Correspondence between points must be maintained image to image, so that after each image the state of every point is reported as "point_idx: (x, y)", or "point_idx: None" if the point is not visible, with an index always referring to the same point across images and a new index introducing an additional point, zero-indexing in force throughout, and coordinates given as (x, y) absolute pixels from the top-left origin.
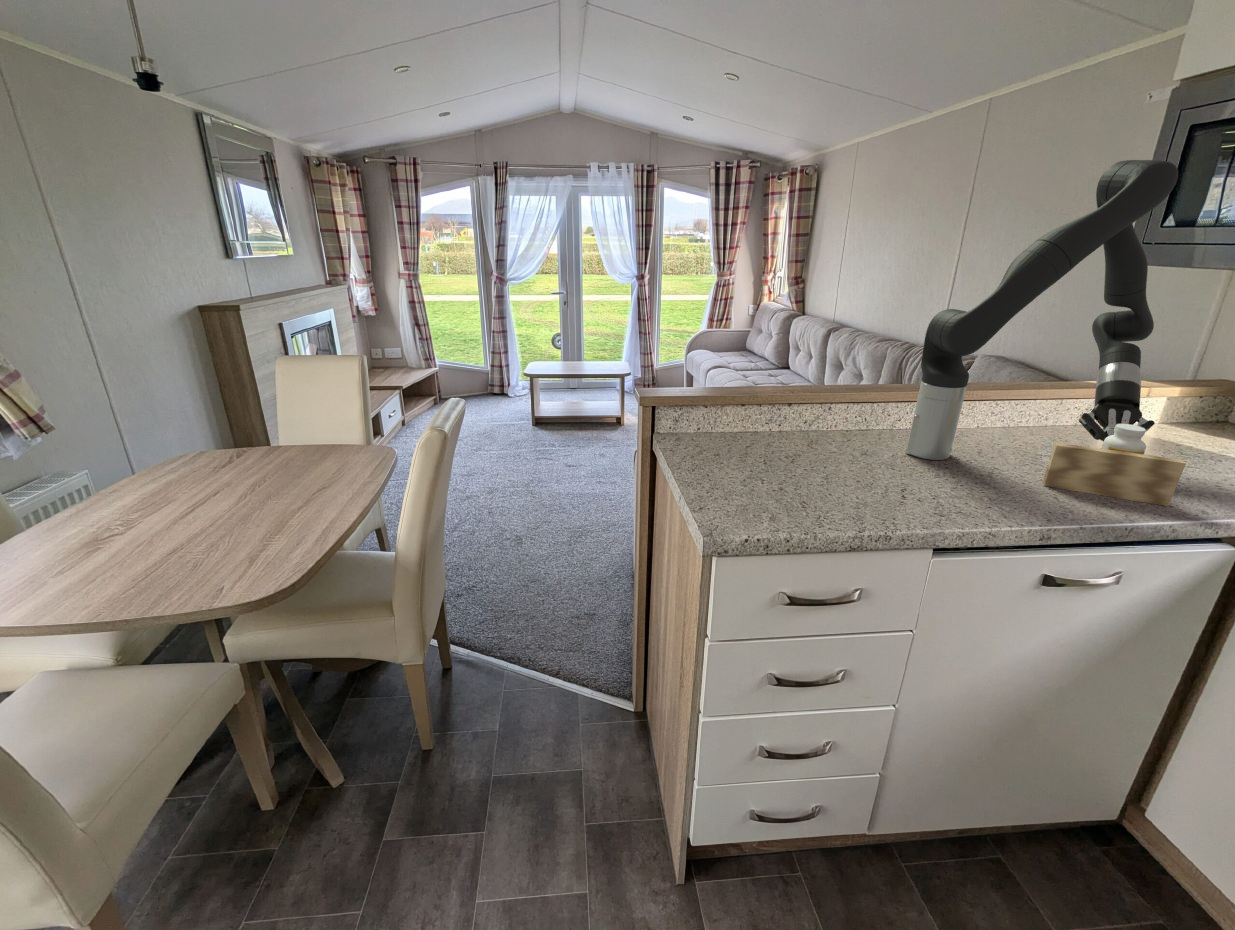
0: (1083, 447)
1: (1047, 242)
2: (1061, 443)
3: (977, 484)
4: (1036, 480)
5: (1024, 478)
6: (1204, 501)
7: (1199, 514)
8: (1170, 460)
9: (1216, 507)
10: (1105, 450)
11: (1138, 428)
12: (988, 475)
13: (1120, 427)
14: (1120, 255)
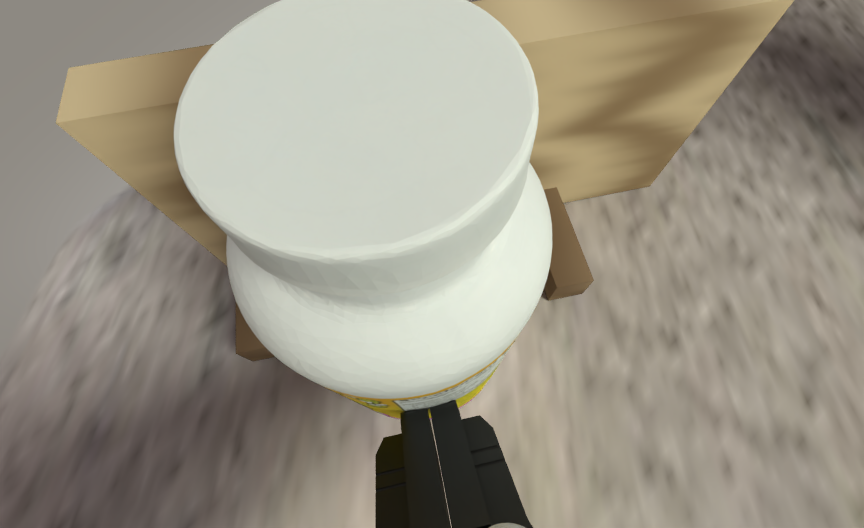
0: (628, 2)
1: None
2: (760, 2)
3: (795, 36)
4: (674, 193)
5: (717, 185)
6: (51, 398)
7: (142, 218)
8: (147, 67)
9: (35, 345)
10: (505, 24)
11: (263, 96)
12: (826, 131)
13: (477, 7)
14: None
